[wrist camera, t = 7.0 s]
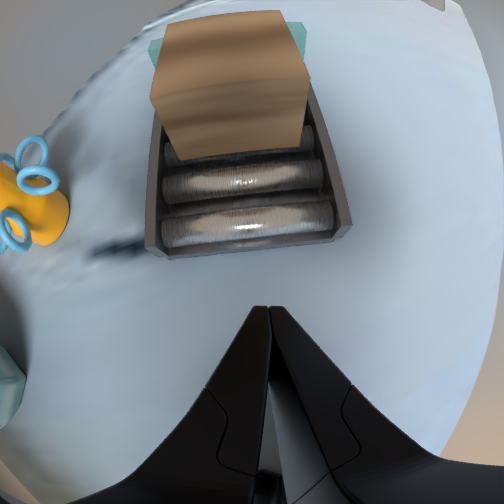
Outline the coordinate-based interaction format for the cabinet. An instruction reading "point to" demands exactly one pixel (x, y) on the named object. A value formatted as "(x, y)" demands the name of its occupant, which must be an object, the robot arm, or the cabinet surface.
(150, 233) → the roller bed
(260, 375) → the robot arm
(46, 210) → the orange post with rings
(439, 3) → the lava lamp
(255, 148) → the brown wooden block
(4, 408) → the flower pot
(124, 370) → the cabinet surface
